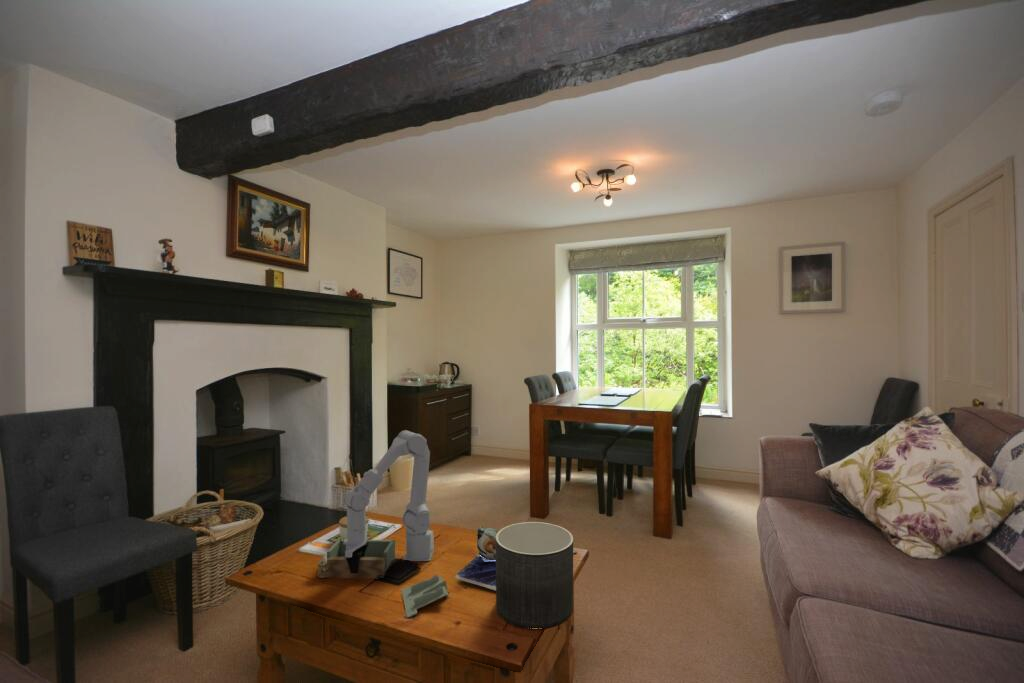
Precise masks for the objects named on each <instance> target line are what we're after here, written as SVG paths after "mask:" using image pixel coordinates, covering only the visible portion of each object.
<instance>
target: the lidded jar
mask: <svg viewBox="0 0 1024 683" xmlns="http://www.w3.org/2000/svg"><path fill="white" fill-rule="evenodd" d="M369 519H370V518H369V516H367V515H366V532H367V533H368V530H369V521H370V520H369ZM338 525H339V526H338V527H339V534H340V537H341V539H347V515H346V516H343V517H342V518H340V519H339V521H338Z"/></svg>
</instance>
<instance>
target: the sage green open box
mask: <svg viewBox="0 0 1024 683" xmlns="http://www.w3.org/2000/svg"><path fill="white" fill-rule="evenodd" d="M345 540H347V539H343V538H341V539H340V538H339V539H337V540H336V541H335V542H334V544H332V545H331V546H330V548H329V549H328V550H327V551H326V556H323V557H322V559H323V564H326V563H327V559H329V558H330V557H344V552H345V550H346V544H343V542H344V541H345ZM366 542H368V543H369V545H368V547H367V549H366V552H365V555H364V557H385V567H388V565H389V564H390V562H391V561H392V560H394V559H395V560H396V539H366ZM395 560H394V561H395ZM327 568H328V567H327ZM327 568H322V569H323V573H327Z"/></svg>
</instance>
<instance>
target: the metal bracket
mask: <svg viewBox="0 0 1024 683" xmlns="http://www.w3.org/2000/svg"><path fill="white" fill-rule="evenodd" d="M447 586H448V585H447V581H446V580H443V578H442V575H438V574H434V575H433V576H432V577H431V578H429V579H424V580H421V581H419V582H417V583H415V584H412V585H408V586H407V587H405V588H402V589H401V590H400V592H401V591H402V595H401V597H402V596H403V597H402V601H403V600H404V602H403V606H404V605H405V607H404V610H405V611H404V616H405V615H406V616H407V617H405V618H406V619H408V618H412V617H414V616H415V615H417V614H418V610H419V609H420V608H423V607H425V606H427V605H429V604H431V603H434V602H435V601H438V600H439V599H442V598H443V597H446V600H448V599H449V598H448V595H449V594H451V591H450V590H448V587H447Z"/></svg>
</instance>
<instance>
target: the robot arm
mask: <svg viewBox="0 0 1024 683" xmlns="http://www.w3.org/2000/svg"><path fill="white" fill-rule="evenodd" d="M427 442H428V440H427V438H425V437H424V436H423V435H422V434H420V433H415V432H412V431H410V430H407V429H405V430H402V431H400V432H399V433H398V435H397V436H396V437H394V439H393V440H392V443H391V446H390V447H389V448H388V449H387V451H386V452H385V454H384V455H383V457H382V458H380V461H379V462H378V463H377V464H376V466H375V467H374V468H372V469H369V470H368V471H365V472H364V473H363V477H362V478H361V479H360V481H358V482H357V484H355V485H354V486H353V488H352V489H349V490H348V491H347V493H345V498H343V503H344V504H345V505H346V506H347V507H346V516H347V540H345V541H344V542H343V544H346V550H345V552H344V557H345V558H346V560H347V562H348V565H349V569H350V572H351V573H357V572H358V569H359V562H360V557H364V555H365V552H366V549H367V547H368V545H369V543H368V542H366V540H367V538H368V531H367V532H366V516H367V515H366V507H368V505H369V503H370V498H371V496H372V494H373V493H374V492H375V491H376V490H377V489H378V487H379V486H380V485H381V484H382V482H383V479H384V474H385V473H386V472H387V471H388V470H389V469H390V467H391V466H393V464H394V463H395V462H396V461H397V460H398V458H400V457H403V456H407V455H411V456H412V457H413V467H412V480H411V488H410V489H411V490H410V497H409V498H410V499H409V503H408V504H407V505H406V506H405V511H404V513H403V515H402V523H403V525H404V526H405V553H404V555H403V558H402V560H403V559H405V560H410V561H409V562H429V561H431V559H432V556H433V554H434V551H435V550H434V546H435V545H434V543H435V542H434V539H435V538H434V536H435V534H434V531H433V530H429V529H430V526H431V518H430V510H429V508H428V506H427V503H426V499H427V494H428V493H427V491H428V480H429V472H430V471H429V469H430V458H431V451H430V449H429V446H428V443H427Z"/></svg>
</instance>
